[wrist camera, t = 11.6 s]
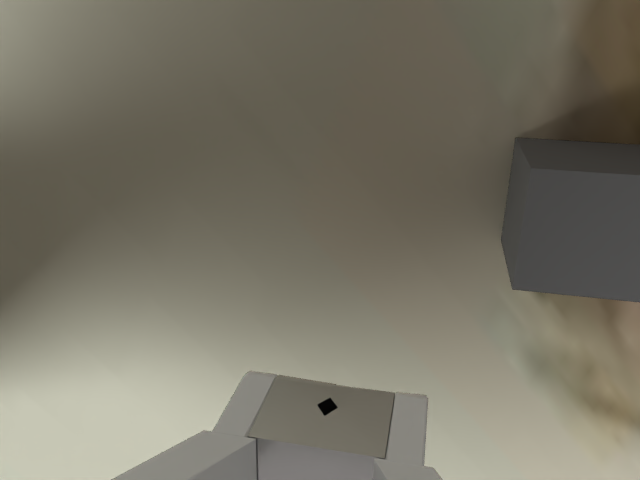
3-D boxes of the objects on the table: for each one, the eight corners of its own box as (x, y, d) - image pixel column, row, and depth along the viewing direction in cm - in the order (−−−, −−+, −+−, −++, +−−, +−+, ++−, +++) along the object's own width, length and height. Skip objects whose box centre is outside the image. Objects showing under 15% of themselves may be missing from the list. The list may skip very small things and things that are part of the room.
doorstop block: (500, 238, 23) (512, 289, 19) (515, 136, 22) (531, 167, 17) (667, 253, 22) (717, 309, 18) (694, 147, 21) (756, 183, 16)
